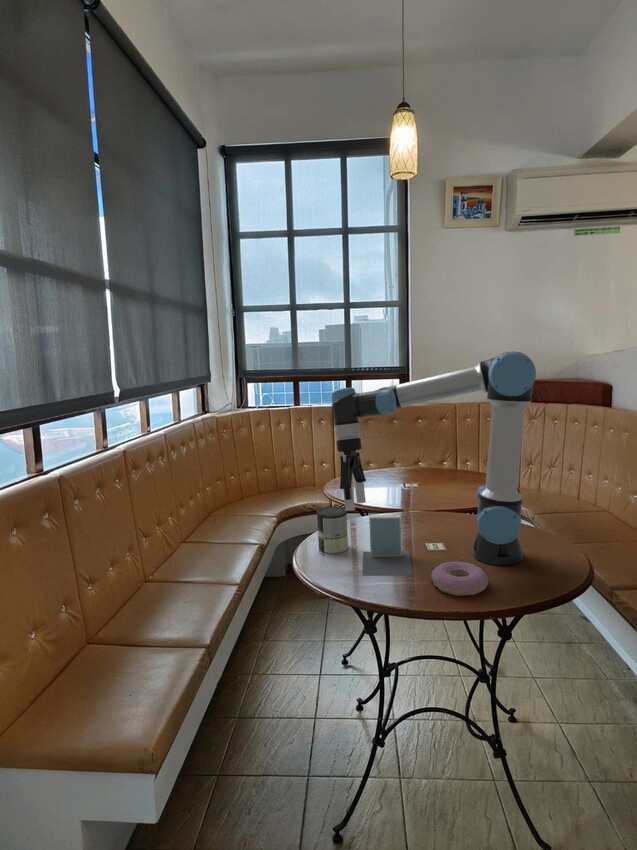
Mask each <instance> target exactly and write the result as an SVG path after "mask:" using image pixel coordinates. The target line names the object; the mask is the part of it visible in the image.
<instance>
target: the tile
mask: <svg viewBox="0 0 637 850" xmlns="http://www.w3.org/2000/svg"><path fill="white" fill-rule="evenodd" d="M368 518H369V519H368V521H369V546H370V547H369V548H370V551H369V552H371V556H402V550H403V549H402V522H401V520H402V517H401V514H379V515H377V514H374V515H373V514H372V515H371V514H370V515H368Z"/></svg>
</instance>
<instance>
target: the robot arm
mask: <svg viewBox="0 0 637 850" xmlns="http://www.w3.org/2000/svg"><path fill="white" fill-rule="evenodd" d="M536 376H537V370H536V366H535V364H534V362H533V360H532V359H531V357H529V356H527V355H526V354H525V353H522V352H520V351H505V352H503V353H500V354H499V355H496V356H495V357H492V358H490V359H487V360H483V361H482V360H481V361H479V362H478V363H477V364H476V365H475V366H471V367H467V368H464V369H463V368H462V369H459V370H454V371H450V372H446V373H442V374H438V375H437V374H436V375H433V376H428V377H424V378H420V379H416V380H411V381H407V382H403V383H399V384H395V385H390V386H384V387H381V388H378V389H375V390H372V391H365V392H357V391H356V389H355V388H354V387H344V388H336V389H333V390H332V391H331V406H332V413H333V423H334V429H333V432H334V433H335V437H336V439H337V440H336V449H337V452H338V453H343V454H341V455H340V456H339V457H340V458H339V459H340V483H339V484H340V485H339V489H340V490H342V491H343V498H344V500H343V501H344V508H345V510H346V511H347V512H348V511H350V512H351V511H355V510H356V506H355V498H354V497H355V496H356V503H357V504H365V503H366V502H367V501H366V492H365V485H364V484H365V483H364V482H367V479H366V477H365V473H364V469H363V465H362V461H361V456H360V452H359V451H360V450H361V449H362V441H361V440H362V439H361V438H360V437H359V436H361V431H360V424H359V423H360V421H359V418H366V417H375V416H385V415H390V414H394V413H396V411H397V409H400V408H405V407H409V406H413V405H418V404H422V403H423V404H424V403H428V402H432V401H437V400H442V399H443V400H444V399H447V398H451V397H455V396H461V395H466V394H471V393H476V392H479V391H482V392H483V393H487V397H486V400H487V401H488V403H489V404H491V415H490V416H491V417H490V429H489V439H488V440H489V441H488V453H487V454H488V455H487V463H486V475H485V476H486V477H485V485H480V486H479V487H477V488H478V489H477V495H476V496H477V518H476V527H477V533H476V537H475V540H474V543H473V545H472V556H473V558H474V559H476V560H477V561H478V562H479V561H480V562H482V563H484V564H488V565H494V566H511V565H512V566H513V565H517V564H519V563H521V562H522V561H523V558H524V552H523V548H522V545H521V543H520V542H521V541H520V539H519V535H520V533H521V531H522V525H523V524H522V520H521V516H522V515H521V513H522V502H523V496H522V495H521V494H520V492H518V486H519V485H518V484H519V475H520V474H519V472H520V464H521V463H520V462H521V451H522V441H523V429H524V420H525V408H526V407H527V406H528V405H529V404H531V403H532V399H533V398H532V397H533V388H534V387H533V386H534V383H535V381H536ZM353 478H354V481H355V482H354V487H355V496H354V492H353V491H354V490H353V487H352V485H353V484H352V483H353V482H352V481H353Z"/></svg>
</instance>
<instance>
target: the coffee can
mask: <svg viewBox="0 0 637 850" xmlns="http://www.w3.org/2000/svg"><path fill="white" fill-rule="evenodd" d="M347 513H348V511H346V510H345V507H342V506H326V507H325V506H324V507H321V508H319V509H317V510H316V518H317V520H316V521H317V538H318V541H317V542H318V552H319V554H320V555H323V554H324V555H323V556H326V554H328V555H332V554H333V555H334V554H336V555H337V554H341V553H344V552H346V551H348V550H349V537H348V514H347Z"/></svg>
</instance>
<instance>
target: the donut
mask: <svg viewBox="0 0 637 850" xmlns="http://www.w3.org/2000/svg"><path fill="white" fill-rule="evenodd" d="M430 576H431V579H432V582H433V583H432V584H433V585H434V586H435V587H437V588H438V589H439V590H440V591H441V592H442V593H446V594H448V595H449V594H450V595H452V596H456V597H463V596H475V595H477V594H479V593H481V592H483V591H484V590H485V589H486V588H487V587H488V583H489V577H488V575H487V573H485V571H484V570H483V568H482V567H479V566H477V565H475V564H473V563H471V562H463V561H449V562H443V563H441V564H440V565H437V566H436V567H435V568H434V569H432V572H431V575H430Z"/></svg>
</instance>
